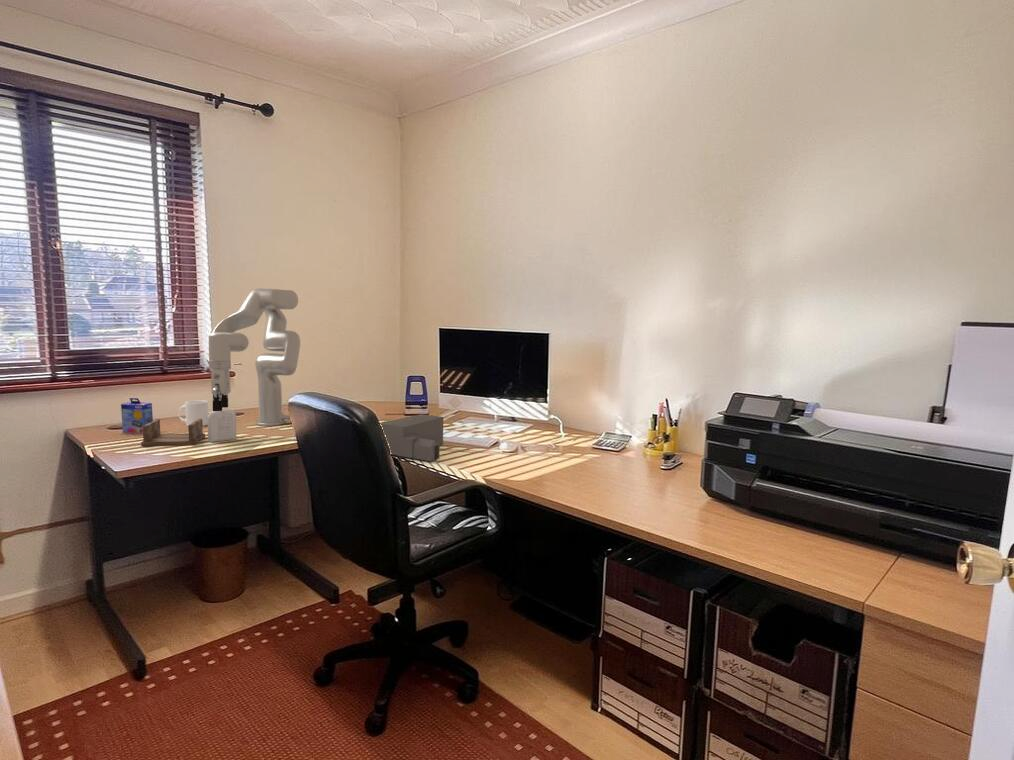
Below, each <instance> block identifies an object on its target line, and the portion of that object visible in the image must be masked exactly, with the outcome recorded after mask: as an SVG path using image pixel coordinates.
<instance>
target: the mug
mask: <svg viewBox="0 0 1014 760" xmlns="http://www.w3.org/2000/svg"><path fill="white" fill-rule="evenodd" d="M184 403H185V404H183V405H181V407H179V409H178V412H177V413H178V418H179V420H180V421H181V422H183V423H185V425H186V427H188V425H190V424H191V423H193V422H194V421H196V420H198V419H202V427H204V426H205V425H206V426H208V413H209V401H208V400H205V399H204V400H203V399H202V400H201V399H200V400H199V399H196V400H186V401H185V402H184ZM184 409H185V418H183V417H181V414H180V413H181V411H182V410H184ZM206 426H205V427H206Z"/></svg>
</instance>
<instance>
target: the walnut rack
mask: <svg viewBox="0 0 1014 760" xmlns="http://www.w3.org/2000/svg"><path fill="white" fill-rule="evenodd" d="M187 427H188V433H161V420H160V419H157V418H155V419H153V421H152V422H150V423H148V424H146V425H144V426H143V435H142V439H143V440H142V441H141V442H140V446H141V447H163V446H167V447H168V446H195V445H197V444H198V443H199V442H200V441H202V440H203V439H204V438H205V437H206V433H205V432H204V431H203V430H204V429H203V428H204V426H202V419H198V420H196V421H194V422H193V423H191V424H190V425H188V426H187Z"/></svg>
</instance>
